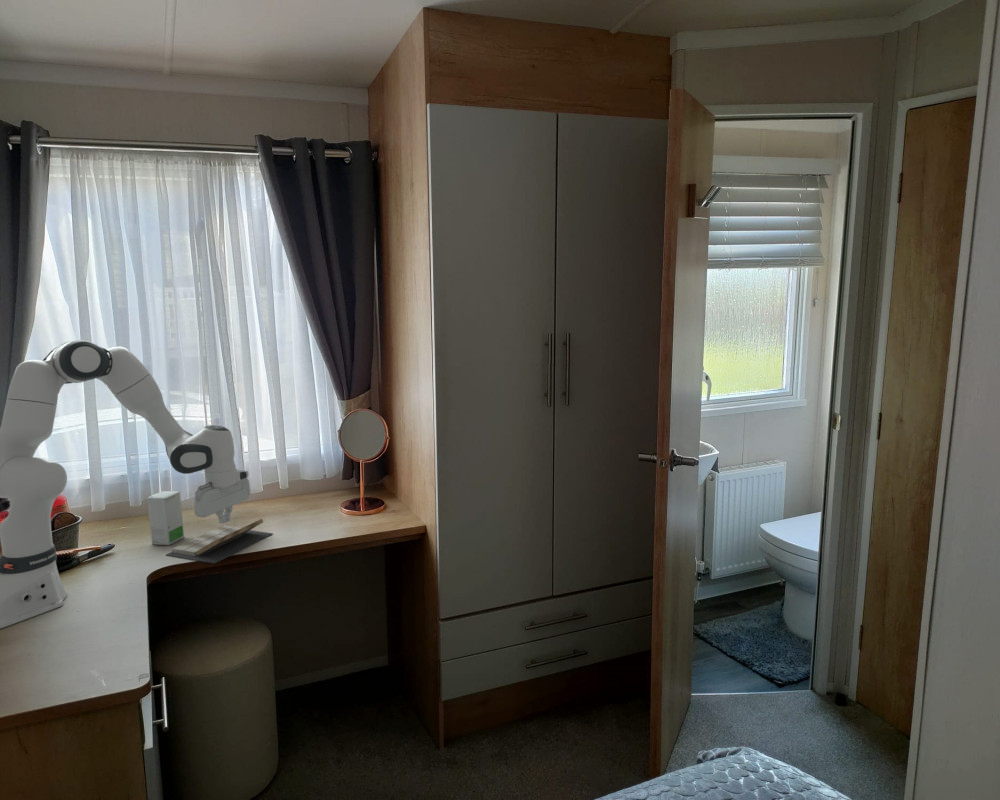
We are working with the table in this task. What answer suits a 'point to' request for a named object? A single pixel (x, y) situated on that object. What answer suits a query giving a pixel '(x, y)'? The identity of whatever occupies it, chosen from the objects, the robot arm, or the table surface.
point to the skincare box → (165, 517)
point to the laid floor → (203, 540)
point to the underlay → (226, 547)
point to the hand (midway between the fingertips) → (224, 521)
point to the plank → (228, 537)
